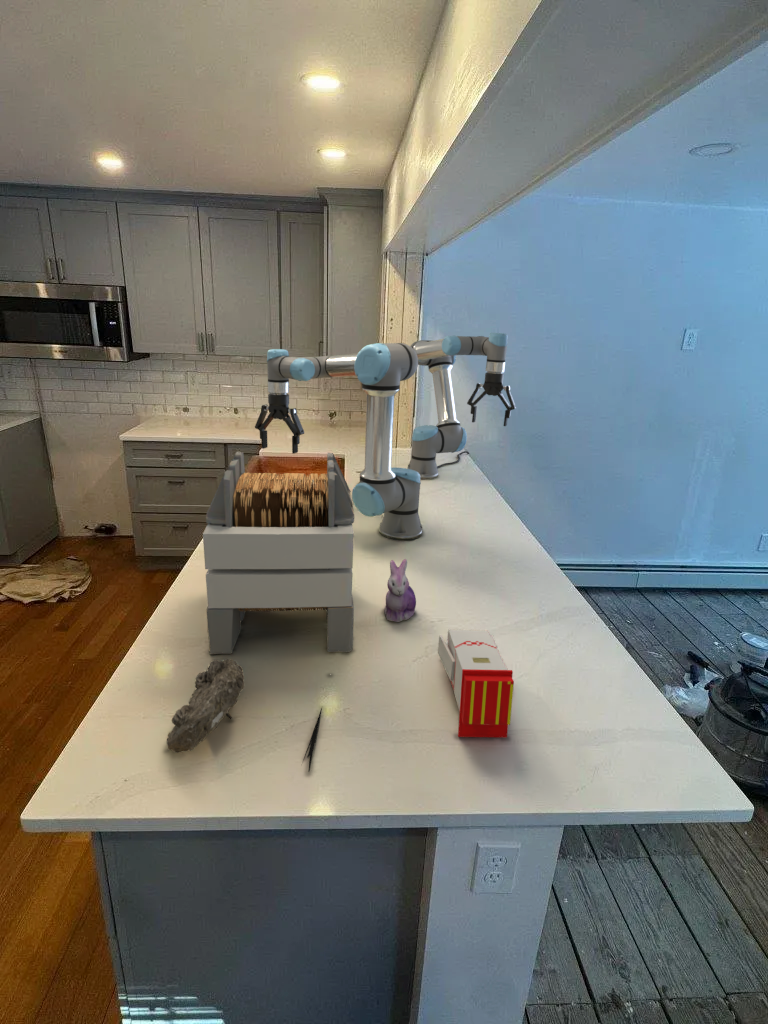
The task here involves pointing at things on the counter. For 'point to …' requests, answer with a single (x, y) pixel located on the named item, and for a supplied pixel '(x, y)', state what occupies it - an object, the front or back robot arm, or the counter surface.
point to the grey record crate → (279, 550)
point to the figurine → (399, 594)
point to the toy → (478, 682)
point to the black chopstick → (313, 740)
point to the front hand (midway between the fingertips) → (279, 450)
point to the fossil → (206, 705)
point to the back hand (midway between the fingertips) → (489, 423)
